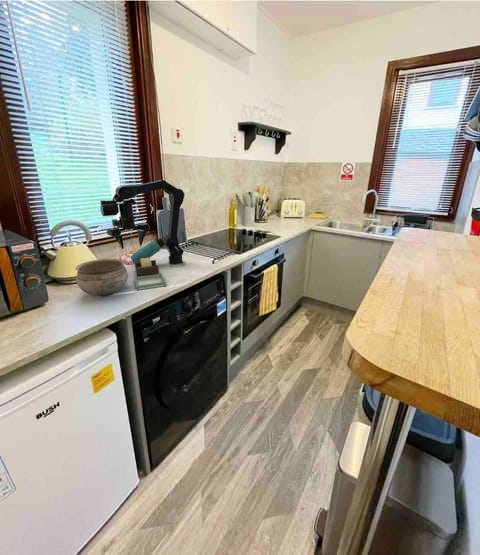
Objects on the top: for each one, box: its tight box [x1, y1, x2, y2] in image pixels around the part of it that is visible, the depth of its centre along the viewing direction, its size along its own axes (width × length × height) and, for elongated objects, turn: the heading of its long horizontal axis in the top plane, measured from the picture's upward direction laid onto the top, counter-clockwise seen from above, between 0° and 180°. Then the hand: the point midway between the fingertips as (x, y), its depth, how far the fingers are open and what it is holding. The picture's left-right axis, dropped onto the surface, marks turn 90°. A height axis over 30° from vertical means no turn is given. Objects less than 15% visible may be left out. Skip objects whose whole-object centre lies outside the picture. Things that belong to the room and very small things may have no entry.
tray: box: [134, 273, 167, 292], centre depth 122 cm, size 12×11×2 cm
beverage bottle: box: [130, 238, 165, 265], centre depth 141 cm, size 6×7×20 cm
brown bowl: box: [75, 258, 129, 297], centre depth 111 cm, size 25×19×12 cm
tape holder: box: [134, 259, 160, 277], centre depth 134 cm, size 14×10×5 cm
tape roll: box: [140, 257, 152, 267], centre depth 133 cm, size 7×5×7 cm, turn 23°
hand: (131, 247), depth 131 cm, fingers open, 9 cm apart
